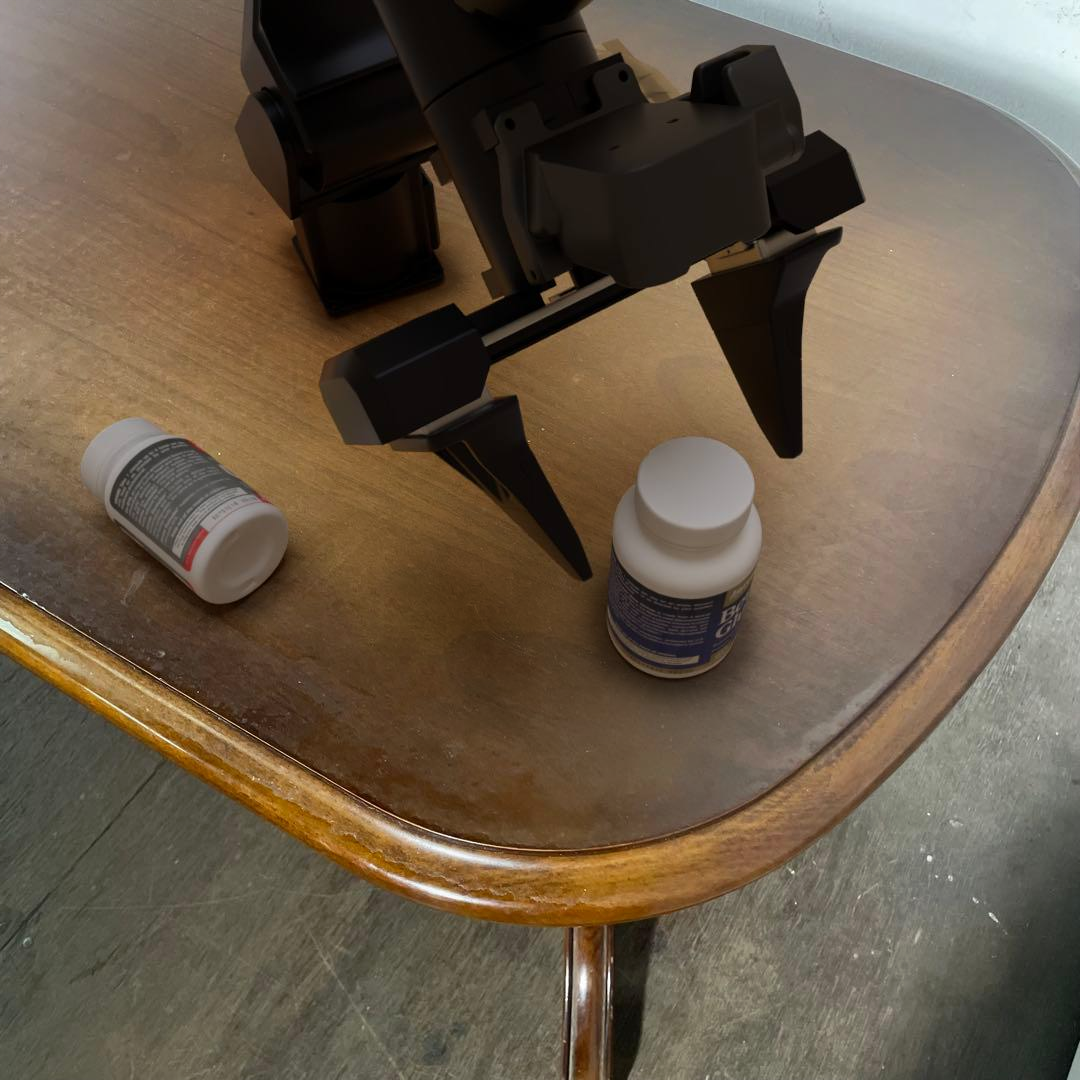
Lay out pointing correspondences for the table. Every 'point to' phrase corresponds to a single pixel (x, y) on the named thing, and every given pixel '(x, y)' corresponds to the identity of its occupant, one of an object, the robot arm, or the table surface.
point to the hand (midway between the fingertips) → (691, 515)
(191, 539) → the pill bottle
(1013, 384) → the table surface
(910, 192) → the table surface
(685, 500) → the pill bottle
